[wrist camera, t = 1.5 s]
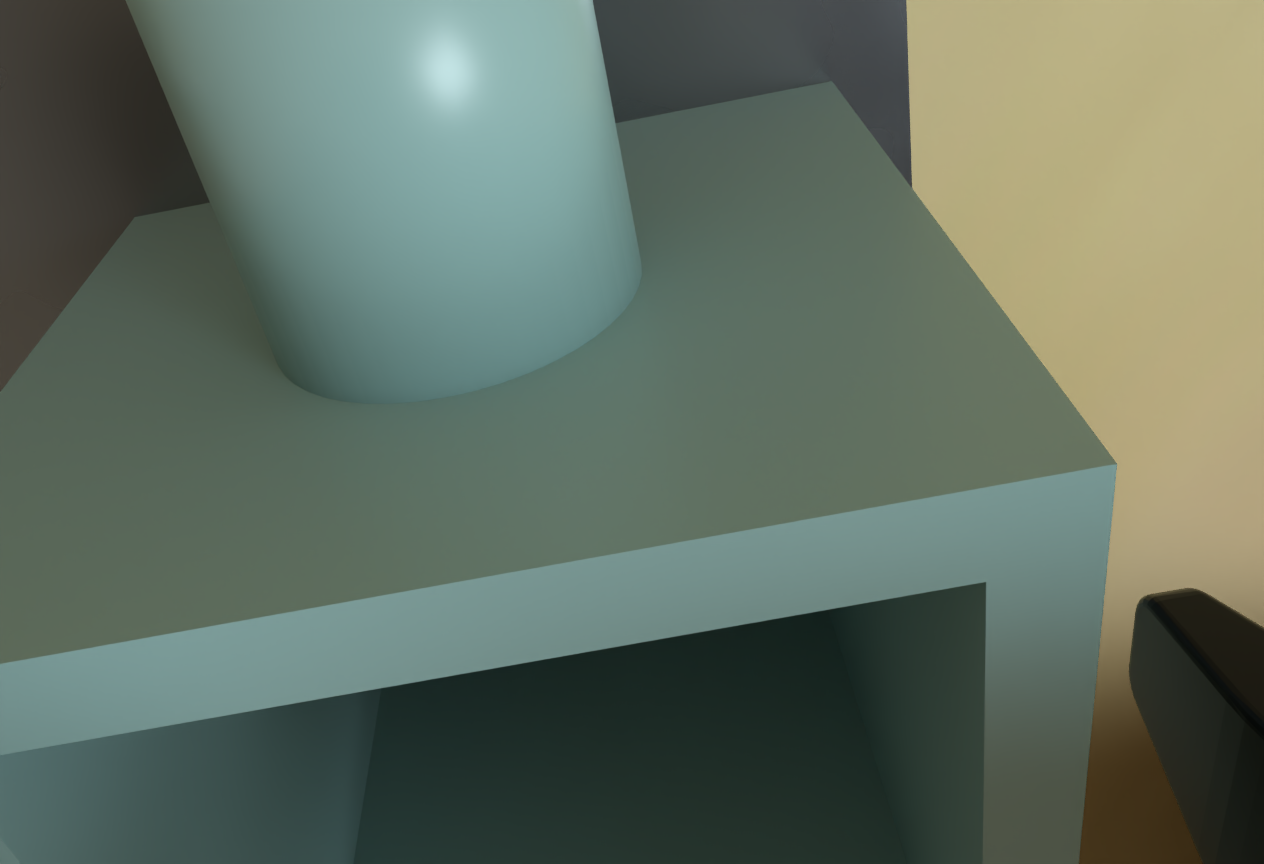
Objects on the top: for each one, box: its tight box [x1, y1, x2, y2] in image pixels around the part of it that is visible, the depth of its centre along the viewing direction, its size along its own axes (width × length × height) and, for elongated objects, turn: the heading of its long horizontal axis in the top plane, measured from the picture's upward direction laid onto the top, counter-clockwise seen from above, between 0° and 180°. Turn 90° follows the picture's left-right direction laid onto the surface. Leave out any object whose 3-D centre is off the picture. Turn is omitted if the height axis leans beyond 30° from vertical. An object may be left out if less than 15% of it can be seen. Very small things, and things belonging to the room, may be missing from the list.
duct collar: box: [0, 0, 1117, 864], centre depth 9 cm, size 7×10×6 cm
